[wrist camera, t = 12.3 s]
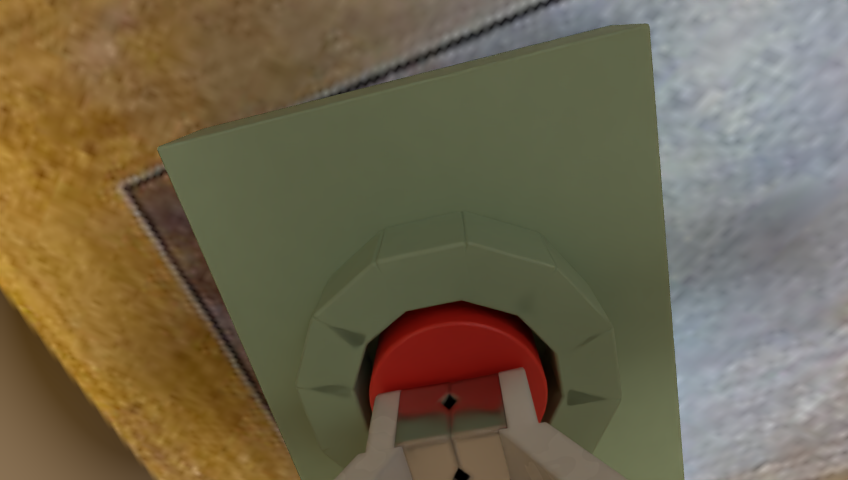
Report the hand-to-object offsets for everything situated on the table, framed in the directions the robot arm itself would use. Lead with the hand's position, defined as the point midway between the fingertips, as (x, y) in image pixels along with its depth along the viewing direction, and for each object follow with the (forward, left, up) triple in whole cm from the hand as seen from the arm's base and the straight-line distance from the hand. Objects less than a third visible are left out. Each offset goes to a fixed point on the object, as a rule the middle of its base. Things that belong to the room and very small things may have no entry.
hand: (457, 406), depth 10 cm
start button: (0, 0, -2) cm, 2 cm away
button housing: (0, 0, -4) cm, 4 cm away
